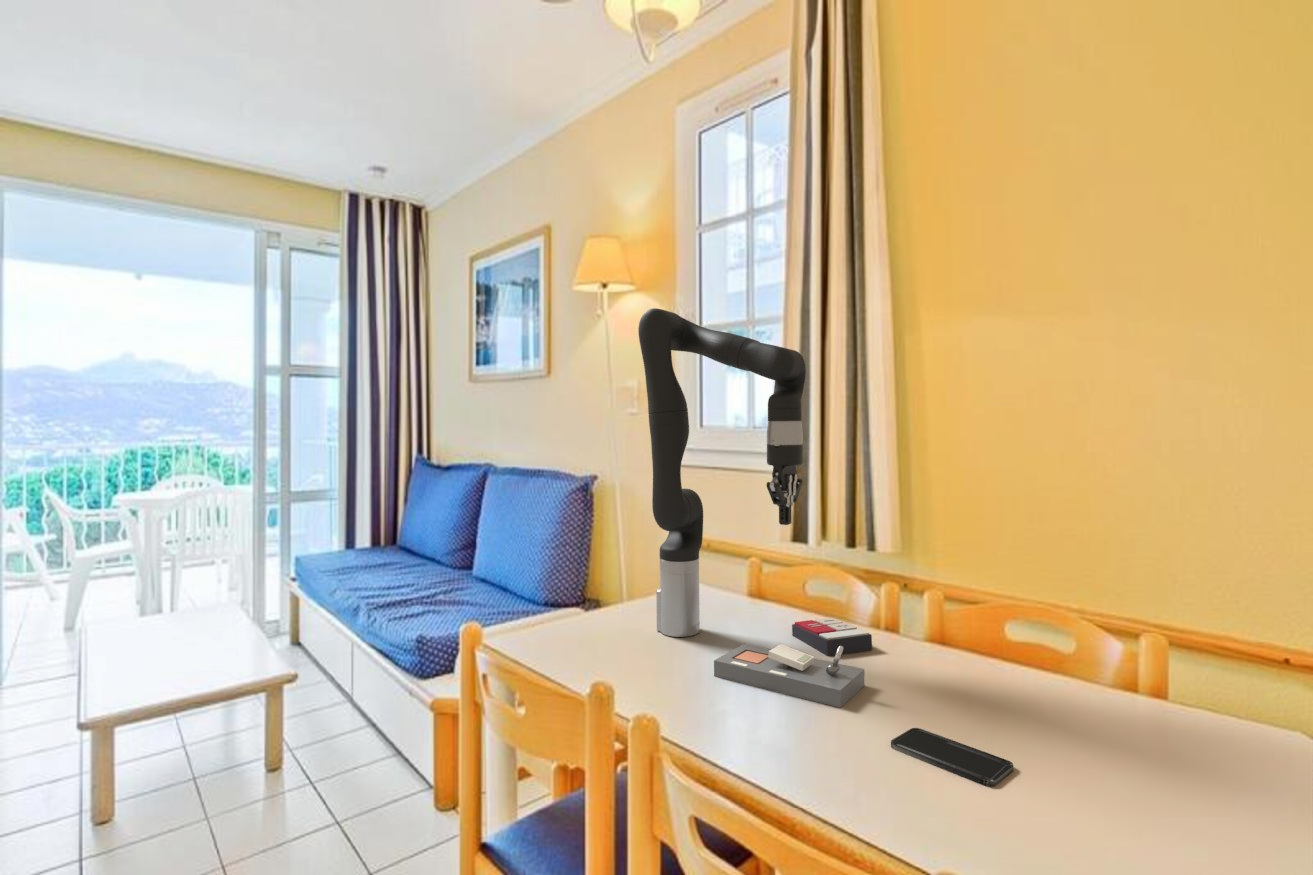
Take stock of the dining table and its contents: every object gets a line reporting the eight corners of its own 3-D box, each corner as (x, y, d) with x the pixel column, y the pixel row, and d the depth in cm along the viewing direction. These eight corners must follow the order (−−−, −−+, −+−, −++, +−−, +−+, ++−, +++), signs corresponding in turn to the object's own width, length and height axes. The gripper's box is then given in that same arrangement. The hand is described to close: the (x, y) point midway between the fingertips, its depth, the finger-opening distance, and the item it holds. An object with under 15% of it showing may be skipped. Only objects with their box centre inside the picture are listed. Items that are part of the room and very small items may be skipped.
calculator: (832, 615, 155) (872, 631, 141) (833, 634, 155) (873, 651, 141) (791, 620, 152) (827, 636, 137) (791, 639, 151) (828, 657, 137)
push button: (734, 672, 128) (734, 657, 128) (747, 664, 132) (746, 650, 132) (757, 677, 125) (757, 663, 125) (769, 669, 129) (769, 655, 129)
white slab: (767, 657, 124) (768, 650, 124) (779, 649, 128) (780, 643, 128) (802, 670, 120) (803, 664, 120) (813, 662, 124) (814, 656, 124)
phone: (991, 783, 87) (887, 741, 98) (991, 791, 87) (887, 749, 98) (1016, 763, 92) (915, 725, 103) (1016, 771, 92) (915, 733, 104)
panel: (714, 675, 127) (713, 657, 127) (744, 657, 137) (744, 640, 137) (840, 707, 112) (840, 686, 112) (864, 685, 122) (864, 665, 122)
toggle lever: (824, 672, 119) (835, 645, 118) (830, 668, 121) (840, 642, 119) (833, 677, 118) (843, 650, 117) (838, 673, 120) (848, 646, 119)
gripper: (782, 441, 148) (782, 519, 148) (754, 443, 137) (754, 526, 137) (814, 442, 143) (814, 521, 144) (787, 443, 133) (787, 529, 133)
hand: (785, 524), depth 140 cm, fingers closed
